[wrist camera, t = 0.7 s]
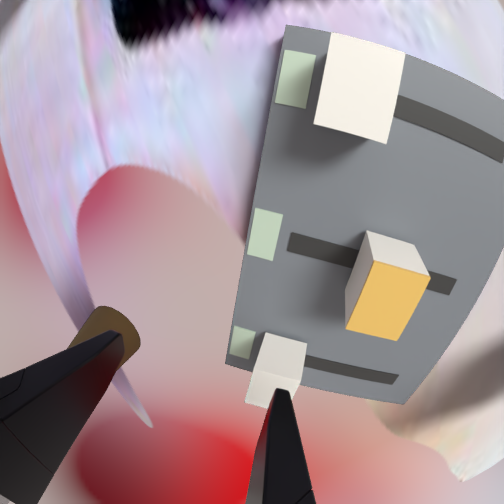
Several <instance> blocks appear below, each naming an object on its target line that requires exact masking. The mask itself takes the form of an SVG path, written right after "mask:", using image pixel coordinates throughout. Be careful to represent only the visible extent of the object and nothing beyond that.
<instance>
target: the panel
mask: <svg viewBox="0 0 504 504" xmlns="http://www.w3.org/2000/svg"><path fill="white" fill-rule="evenodd" d="M330 37H331V32H326V31H321V30H316V29H310V28H305V27H299V26H292V25H286V27H285V32H284V37H283V43H282V48H281V53H280V58H279V64H278V69H277V74H276V80H275V85H274V91H273V96H272V101H271V107H270V112H269V118H268V123H267V128H266V134H265V139H264V145H263V150H262V156H261V161H260V167H259V172H258V178H257V183H256V189H255V195H254V200H253V206H252V211H251V217H250V223H249V228H248V234H247V240H246V245H245V251H244V257H243V262H242V268H241V274H240V280H239V286H238V291H237V297H236V303H235V309H234V314H233V321H232V326H231V333H230V338H229V344H228V350H227V355H226V362H225V364H228V365H231V366H234V367H237V368H240V369H244V370H247V371H251V372H253V369H254V366H255V363H256V360H257V357H258V354H259V351H260V348H261V345H262V342H263V339H264V336H265V333H266V332H267V333H270V334H274V335H277V336H281V337H285V338H288V339H292V340H296V341H300V342H304V343H307V348H306V354H305V361H304V366H303V372H302V378H301V382H300V384H299V385H303V386H307V387H311V388H316V389H320V390H325V391H329V392H334V393H339V394H344V395H349V396H355V397H360V398H365V399H371V400H377V401H383V402H390V403H396V404H405V402H406V401H407V400H408V399H409V398H410V396H411V395H412V394H413V393H414V392H415V390H416V389H417V388H418V387H419V385H420V384H421V383H422V382H423V380H424V379H425V378H426V376H427V375H428V374H429V373H430V371H431V370H432V369H433V367H434V366H435V364H436V363H437V362H438V360H439V359H440V358H441V356H442V355H443V353H444V352H445V350H446V349H447V348H448V346H449V345H450V343H451V342H452V340H453V339H454V337H455V336H456V334H457V332H458V331H459V329H460V328H461V326H462V325H463V323H464V321H465V320H466V318H467V316H468V315H469V313H470V311H471V310H472V308H473V306H474V304H475V303H476V301H477V299H478V297H479V296H480V294H481V292H482V290H483V288H484V286H485V284H486V282H487V281H488V279H489V277H490V275H491V273H492V271H493V269H494V267H495V264H496V262H497V260H498V258H499V256H500V254H501V252H502V249H503V247H504V100H503V99H501V98H500V97H498V96H496V95H494V94H493V93H491V92H489V91H487V90H485V89H484V88H482V87H480V86H478V85H476V84H474V83H472V82H470V81H468V80H466V79H464V78H462V77H460V76H458V75H456V74H454V73H452V72H449V71H447V70H445V69H443V68H440V67H438V66H436V65H433V64H431V63H428V62H426V61H423V60H421V59H418V58H416V57H413V56H410V55H407V54H405V59H404V65H403V71H402V76H401V81H400V86H399V91H398V96H397V101H396V106H395V110H394V115H393V119H392V123H391V127H390V132H389V136H388V140H387V144H384V143H381V142H377V141H374V140H371V139H368V138H364V137H361V136H358V135H354V134H351V133H347V132H343V131H340V130H336V129H332V128H328V127H324V126H320V125H316V124H314V119H315V114H316V109H317V104H318V100H319V95H320V90H321V85H322V80H323V74H324V69H325V64H326V59H327V53H328V48H329V43H330ZM366 230H367V231H370V232H374V233H377V234H381V235H384V236H387V237H391V238H394V239H397V240H401V241H404V242H407V243H410V244H413V245H414V246H415V247H416V249H417V251H418V253H419V255H420V257H421V259H422V261H423V263H424V265H425V267H426V269H427V271H428V273H429V276H430V278H431V279H430V281H429V283H428V285H427V287H426V289H425V291H424V293H423V295H422V297H421V299H420V301H419V303H418V305H417V306H416V308H415V310H414V312H413V314H412V316H411V318H410V319H409V321H408V323H407V325H406V326H405V328H404V330H403V332H402V333H401V335H400V337H399V339H398V340H397V341H394V340H390V339H385V338H381V337H377V336H372V335H368V334H364V333H360V332H355V331H351V330H347V329H345V288H346V286H347V283H348V280H349V278H350V275H351V272H352V270H353V267H354V264H355V262H356V259H357V256H358V253H359V251H360V248H361V245H362V242H363V239H364V236H365V233H366Z"/></svg>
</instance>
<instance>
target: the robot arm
mask: <svg viewBox="0 0 504 504" xmlns="http://www.w3.org/2000/svg"><path fill="white" fill-rule="evenodd" d="M124 354H125V347H124V341H123V335H122V334H121V333H120V332H117V331H115V330H108V331H106V332H103V333H101V334H99V335H97V336H95V337H92V338H90V339H88V340H86V341H84V342H81V343H79V344H77V345H75V346H73V347H70V348H68V349H66V350H64V351H62V352H60V353H57V354H55V355H53V356H51V357H48V358H46V359H44V360H42V361H39V362H37V363H35V364H33V365H31V366H28V367H26V368H24V369H21V370H19V371H17V372H14V373H12V374H10V375H7V376H5V377H2V378H0V504H8V503H9V501H12V502H14V503H15V504H37V503H38V502H39V500H40V498H41V497H42V495H43V493H44V491H45V490H46V488H47V486H48V485H49V483H50V481H51V479H52V477H53V476H54V474H55V472H56V471H57V469H58V467H59V465H60V464H61V462H62V461H63V459H64V457H65V455H66V454H67V452H68V450H69V449H70V447H71V446H72V444H73V442H74V441H75V439H76V438H77V436H78V434H79V433H80V431H81V429H82V428H83V426H84V425H85V423H86V422H87V420H88V418H89V417H90V415H91V414H92V412H93V411H94V409H95V407H96V406H97V404H98V403H99V401H100V400H101V398H102V397H103V395H104V393H105V392H106V390H107V388H108V386H109V384H110V382H111V380H112V378H113V376H114V374H115V372H116V370H117V368H118V366H119V364H120V362H121V360H122V358H123V356H124ZM311 489H312V485H311V480H310V476H309V472H308V467H307V463H306V459H305V455H304V450H303V446H302V442H301V438H300V433H299V429H298V425H297V421H296V417H295V413H294V409H293V404H292V400H291V396H290V392H289V391H288V390H285V389H281V388H276V389H275V391H274V394H273V396H272V399H271V401H270V404H269V407H268V410H267V413H266V417H265V420H264V423H263V427H262V430H261V433H260V436H259V439H258V442H257V446H256V450H255V455H254V461H253V466H252V471H251V477H250V483H249V488H248V493H247V499H246V503H245V504H316V501H315V497H314V493H313V490H311Z"/></svg>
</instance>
